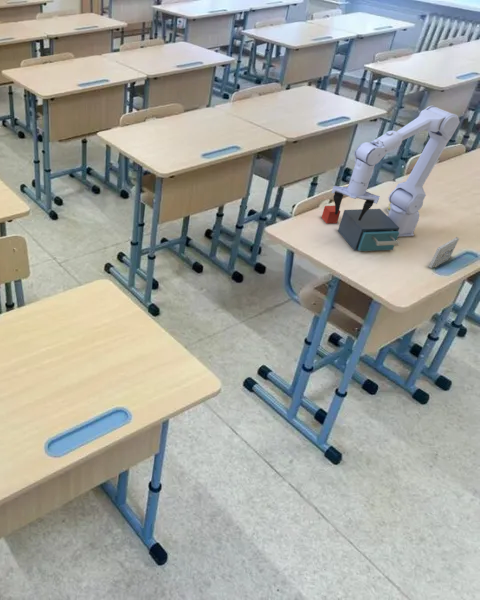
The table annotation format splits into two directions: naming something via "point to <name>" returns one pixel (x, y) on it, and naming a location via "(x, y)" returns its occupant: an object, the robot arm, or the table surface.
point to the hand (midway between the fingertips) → (348, 216)
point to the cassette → (443, 253)
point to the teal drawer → (378, 240)
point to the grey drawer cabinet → (363, 224)
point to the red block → (330, 215)
